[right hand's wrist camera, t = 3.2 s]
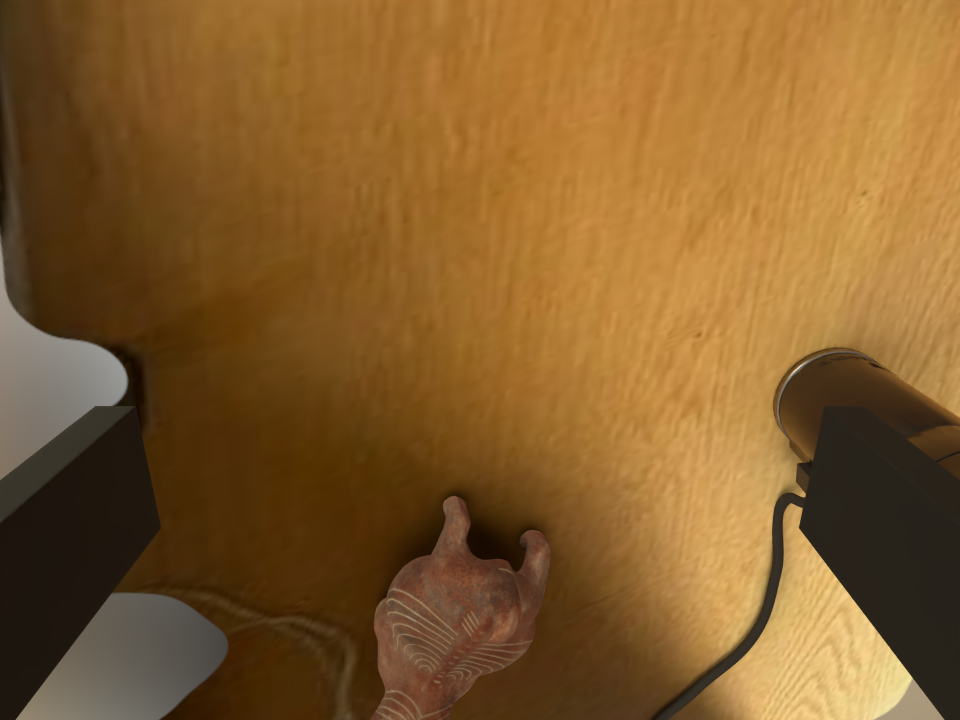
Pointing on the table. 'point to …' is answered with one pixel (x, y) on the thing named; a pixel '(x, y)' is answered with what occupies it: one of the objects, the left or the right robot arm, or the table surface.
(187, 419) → the table surface
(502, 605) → the sculpture
